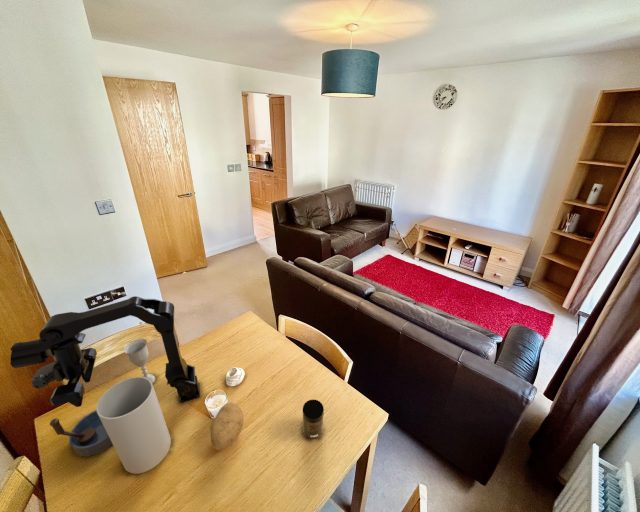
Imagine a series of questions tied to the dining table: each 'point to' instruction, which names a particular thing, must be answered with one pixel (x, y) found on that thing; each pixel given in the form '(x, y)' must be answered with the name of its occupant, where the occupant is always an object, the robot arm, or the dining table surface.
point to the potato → (226, 426)
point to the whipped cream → (234, 376)
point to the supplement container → (313, 418)
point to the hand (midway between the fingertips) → (83, 393)
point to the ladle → (81, 437)
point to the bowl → (99, 440)
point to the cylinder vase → (135, 424)
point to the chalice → (139, 355)
